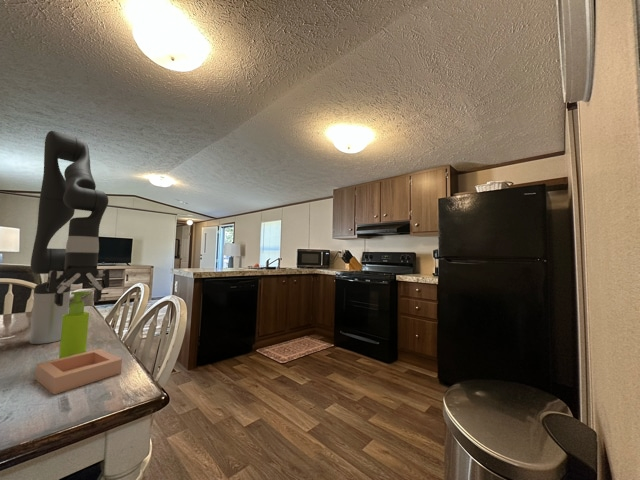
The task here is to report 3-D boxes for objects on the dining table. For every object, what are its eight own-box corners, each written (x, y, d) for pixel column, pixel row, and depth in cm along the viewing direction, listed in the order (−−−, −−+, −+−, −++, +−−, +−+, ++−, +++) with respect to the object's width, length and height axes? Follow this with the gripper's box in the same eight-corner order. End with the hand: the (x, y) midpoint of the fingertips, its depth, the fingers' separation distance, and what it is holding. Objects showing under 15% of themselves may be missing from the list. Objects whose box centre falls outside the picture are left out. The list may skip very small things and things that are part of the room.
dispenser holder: (34, 378, 65) (36, 363, 65) (98, 361, 76) (99, 348, 77) (53, 394, 58) (55, 378, 58) (121, 372, 69) (121, 359, 69)
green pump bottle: (71, 362, 75) (77, 293, 76) (53, 360, 76) (59, 292, 77) (93, 355, 80) (98, 291, 82) (75, 353, 82) (81, 289, 83)
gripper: (105, 252, 88) (101, 299, 87) (46, 250, 76) (41, 306, 75) (115, 252, 85) (111, 301, 83) (55, 250, 72) (49, 309, 71)
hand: (78, 303), depth 79 cm, fingers open, 8 cm apart
